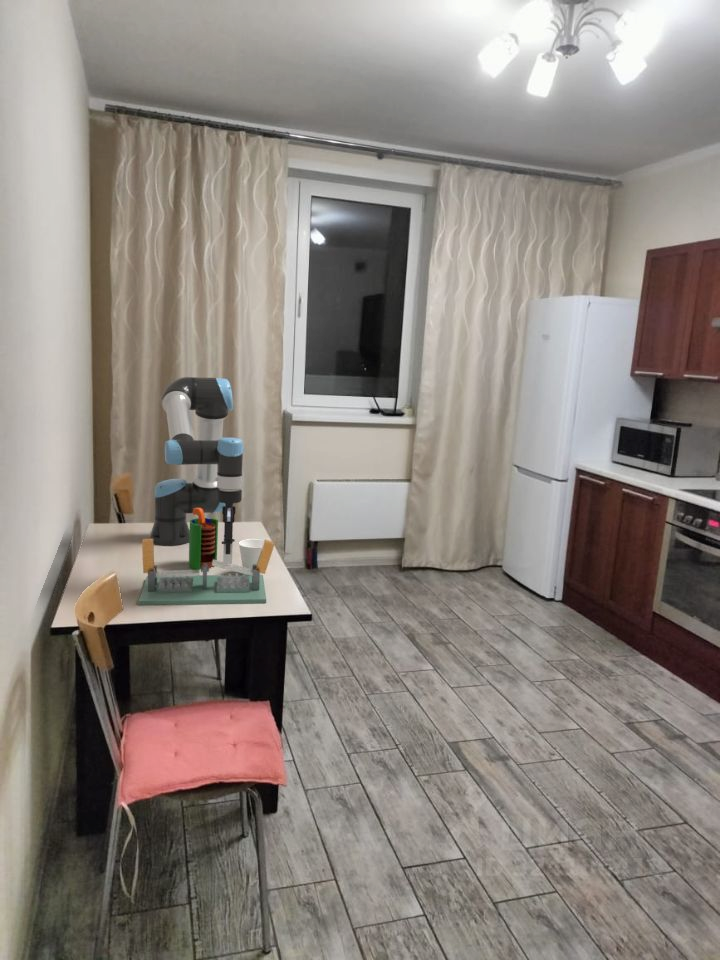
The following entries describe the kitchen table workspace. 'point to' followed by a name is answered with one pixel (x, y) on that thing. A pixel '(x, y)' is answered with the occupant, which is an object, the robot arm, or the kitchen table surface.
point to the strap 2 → (261, 563)
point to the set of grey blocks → (186, 583)
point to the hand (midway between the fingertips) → (227, 563)
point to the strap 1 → (149, 563)
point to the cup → (250, 552)
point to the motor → (202, 540)
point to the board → (203, 593)
